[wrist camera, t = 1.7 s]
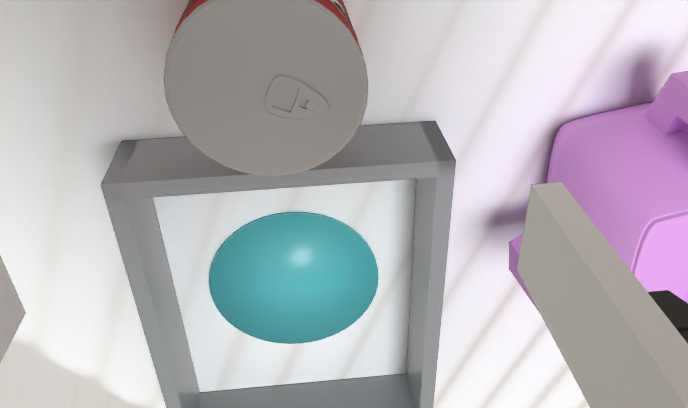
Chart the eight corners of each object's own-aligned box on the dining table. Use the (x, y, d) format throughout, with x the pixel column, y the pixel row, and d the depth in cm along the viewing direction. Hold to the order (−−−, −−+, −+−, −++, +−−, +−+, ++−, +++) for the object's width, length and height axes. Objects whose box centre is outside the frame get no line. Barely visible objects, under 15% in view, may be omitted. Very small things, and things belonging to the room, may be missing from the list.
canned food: (337, 84, 35) (359, 181, 25) (198, 77, 33) (168, 175, 24) (350, -57, 30) (382, -2, 21) (191, -70, 29) (153, -18, 20)
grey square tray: (121, 140, 35) (100, 184, 31) (435, 120, 36) (455, 160, 32) (189, 401, 48) (181, 457, 44) (417, 380, 50) (430, 432, 45)
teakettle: (646, 21, 34) (804, 109, 24) (800, 155, 41) (977, 270, 30) (458, 226, 41) (518, 363, 31) (615, 313, 48) (708, 450, 37)
